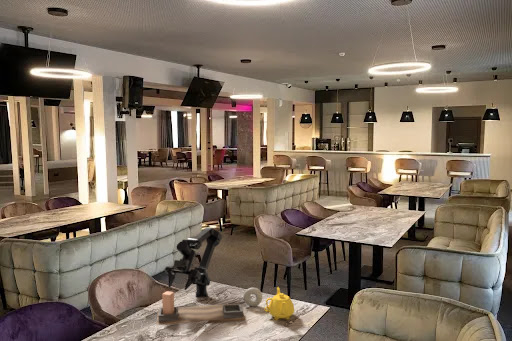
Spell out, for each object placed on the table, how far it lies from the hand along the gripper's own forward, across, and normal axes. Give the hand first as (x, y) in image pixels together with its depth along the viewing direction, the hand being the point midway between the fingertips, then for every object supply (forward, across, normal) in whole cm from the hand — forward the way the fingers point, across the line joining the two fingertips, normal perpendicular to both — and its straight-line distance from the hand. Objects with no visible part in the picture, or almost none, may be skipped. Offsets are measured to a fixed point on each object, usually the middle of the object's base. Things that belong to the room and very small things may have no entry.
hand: (177, 288), depth 206 cm
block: (+14, 0, +2) cm, 14 cm away
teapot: (0, +49, +20) cm, 53 cm away
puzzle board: (+9, +12, +10) cm, 18 cm away
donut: (-5, +32, +25) cm, 41 cm away
